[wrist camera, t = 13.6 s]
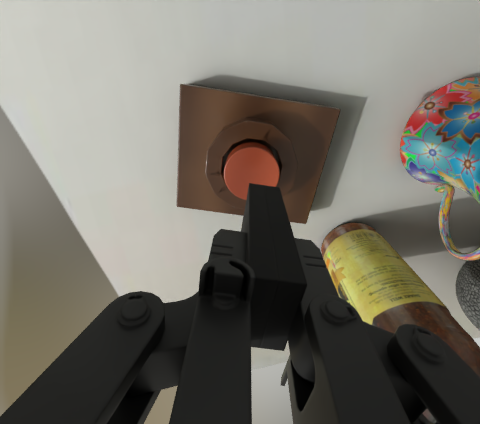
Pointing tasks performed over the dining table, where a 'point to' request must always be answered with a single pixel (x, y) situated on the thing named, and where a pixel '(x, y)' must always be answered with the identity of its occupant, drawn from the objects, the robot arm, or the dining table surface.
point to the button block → (249, 130)
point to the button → (250, 168)
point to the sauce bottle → (389, 289)
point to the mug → (446, 148)
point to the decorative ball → (469, 290)
